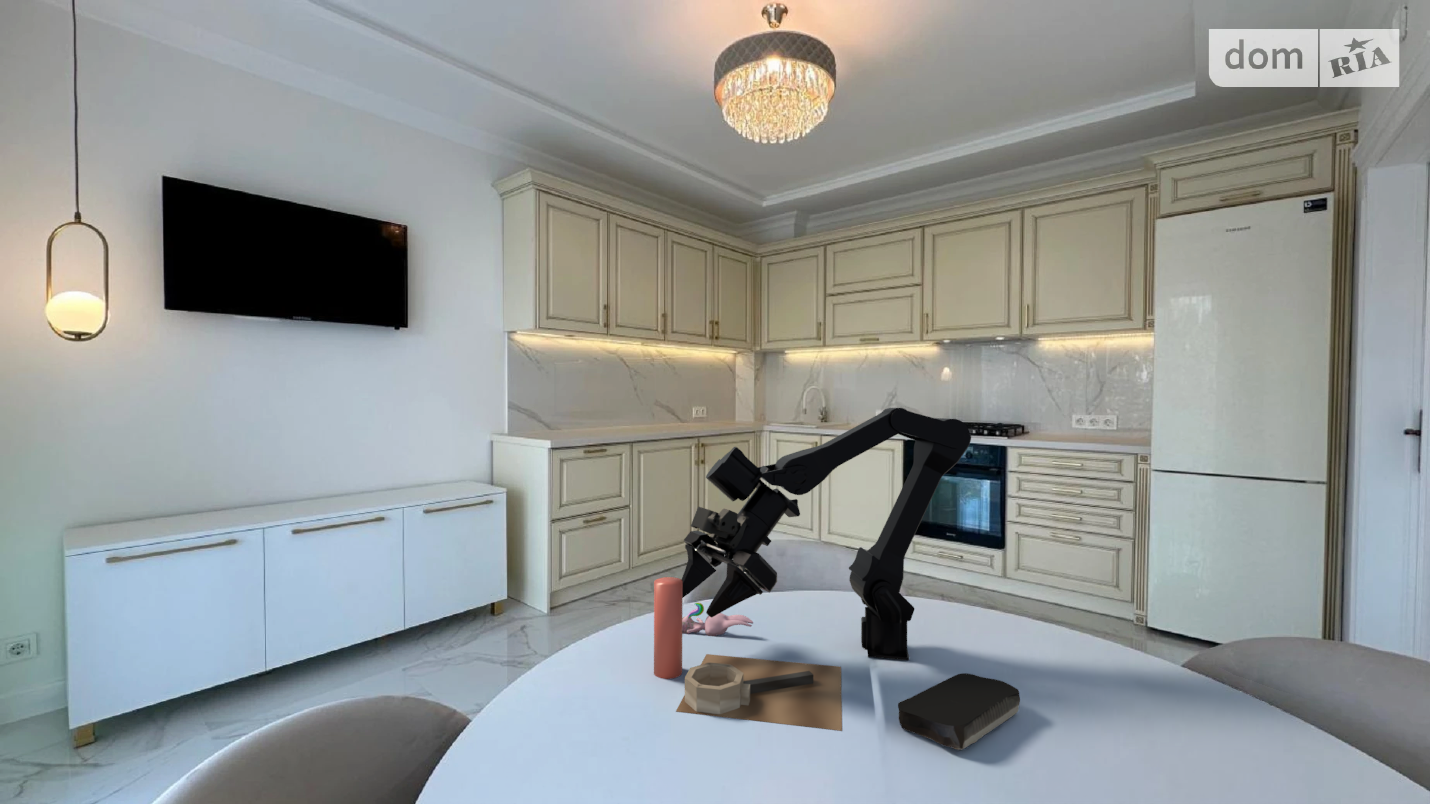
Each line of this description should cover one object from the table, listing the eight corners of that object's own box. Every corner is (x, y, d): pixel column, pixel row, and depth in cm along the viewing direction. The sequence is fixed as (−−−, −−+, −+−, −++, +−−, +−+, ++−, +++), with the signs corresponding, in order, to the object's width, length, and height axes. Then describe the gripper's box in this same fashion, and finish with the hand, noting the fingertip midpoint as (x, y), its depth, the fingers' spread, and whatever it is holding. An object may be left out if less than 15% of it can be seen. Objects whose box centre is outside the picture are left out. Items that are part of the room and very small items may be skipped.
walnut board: (841, 675, 84) (841, 645, 84) (841, 740, 67) (841, 704, 67) (706, 662, 88) (706, 634, 88) (675, 721, 71) (675, 686, 71)
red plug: (685, 675, 83) (685, 578, 84) (677, 688, 79) (678, 586, 80) (658, 672, 84) (659, 576, 84) (650, 685, 80) (650, 584, 80)
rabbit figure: (663, 647, 97) (750, 641, 93) (658, 611, 97) (744, 604, 93) (675, 633, 103) (757, 627, 99) (670, 599, 103) (751, 592, 99)
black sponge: (956, 764, 63) (956, 731, 63) (891, 730, 70) (891, 699, 70) (1026, 717, 73) (1026, 688, 73) (962, 691, 80) (962, 664, 80)
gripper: (694, 480, 95) (631, 557, 89) (759, 495, 79) (687, 589, 73) (735, 523, 99) (677, 599, 93) (805, 545, 83) (740, 639, 77)
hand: (692, 605), depth 84 cm, fingers open, 9 cm apart
